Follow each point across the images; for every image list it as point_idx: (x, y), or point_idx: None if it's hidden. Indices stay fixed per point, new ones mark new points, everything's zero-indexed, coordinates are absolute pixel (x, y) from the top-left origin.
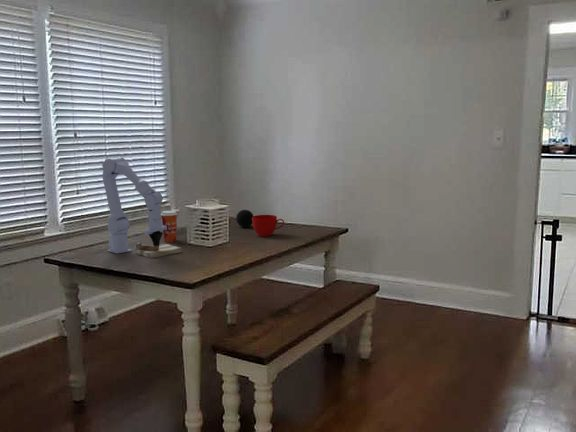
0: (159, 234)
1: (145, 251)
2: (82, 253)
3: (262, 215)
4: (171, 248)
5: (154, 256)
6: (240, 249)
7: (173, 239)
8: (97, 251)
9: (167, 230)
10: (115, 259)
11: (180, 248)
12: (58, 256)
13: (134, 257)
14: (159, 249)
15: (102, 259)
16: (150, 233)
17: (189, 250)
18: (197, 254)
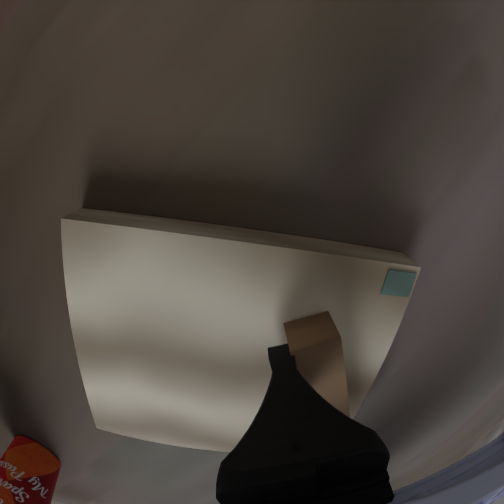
0: (337, 449)
1: (373, 366)
2: None
3: None
4: (140, 283)
5: (378, 250)
6: None
7: (25, 444)
8: None
9: (33, 493)
10: (474, 377)
11: (72, 218)
12: None
13: (422, 355)
14: (251, 343)
15: (477, 406)
16: (451, 471)
17: (15, 208)
18: (68, 24)
